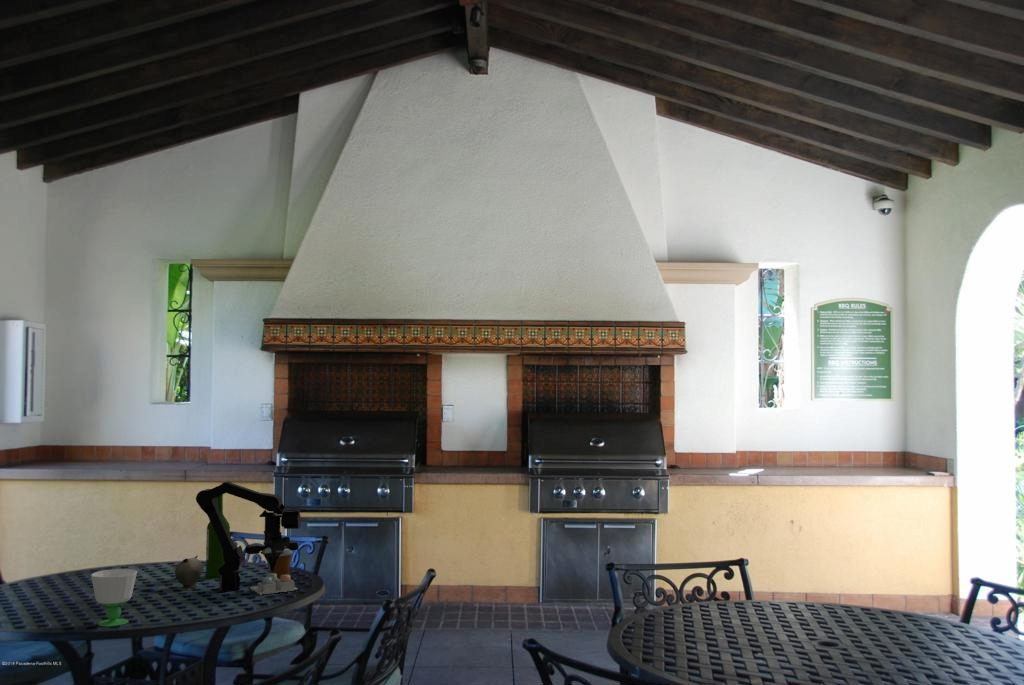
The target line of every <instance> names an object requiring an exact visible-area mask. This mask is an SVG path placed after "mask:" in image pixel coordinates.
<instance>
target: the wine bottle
mask: <svg viewBox="0 0 1024 685" xmlns="http://www.w3.org/2000/svg"><path fill="white" fill-rule="evenodd" d="M223 495H224V494H223ZM223 495H221V496H219V497H217V499H218V508H219V511H220V514H221V516H222V518H223V520H224V523H225V525H226V527H227V529H228V532H229V534H230V533H231V527H230V523H229V521H228V520H227V518H226V516H225V515H224V506H223V505H224V502H223V500H224V498H223V497H224V496H223ZM205 546H206V547H205V548H206V550H205V578H206V577H208V578H207V579H210V578H218V579H220V574H219V571H218V569H219V568H220V567H222V566H223V565H224V564H225V563H224V559H223V549H222V547H221V544H220V542H219V540H218V538H217V535H216V533H215V531H214V529H213V527H212V524H211V522H210V521H209V522H208V523H207V527H206V545H205Z"/></svg>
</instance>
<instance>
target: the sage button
mask: <svg viewBox="0 0 1024 685" xmlns="http://www.w3.org/2000/svg"><path fill="white" fill-rule="evenodd" d="M266 577H272V581H275V580H277V574H276V573H271V572H270V573H267V574H266Z"/></svg>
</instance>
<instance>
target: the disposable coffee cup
mask: <svg viewBox="0 0 1024 685" xmlns="http://www.w3.org/2000/svg"><path fill="white" fill-rule="evenodd" d="M282 552H284V553H283V554H281V555H280V556H279V557H278V559H277V562H276V564H275V567H274V570H273V571H270V573H276V574H277V578H278V579H280V578H281V575H290V568H291V563H292V561H291V560H292V555H293V552H294V550H292V551H291V550H289V549H288V548H287V549H284V551H282Z"/></svg>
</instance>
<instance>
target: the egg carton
mask: <svg viewBox="0 0 1024 685" xmlns="http://www.w3.org/2000/svg"><path fill="white" fill-rule="evenodd" d="M295 585H296V584H295V581H294V580H293V579H291V578H290V582H280V579H278V578H277V580H275V581H272V584H265V585H263V584H262V581H260V582H257V586H250V589H252V590H253V591H255V592H257V593H259V594H260V595H262V594H270V593H278V592H287V591H294V590H298V589H299V588H298V587H295ZM250 589H249V590H250ZM253 591H252V592H253ZM255 592H254V593H255ZM260 595H259V596H260Z"/></svg>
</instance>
